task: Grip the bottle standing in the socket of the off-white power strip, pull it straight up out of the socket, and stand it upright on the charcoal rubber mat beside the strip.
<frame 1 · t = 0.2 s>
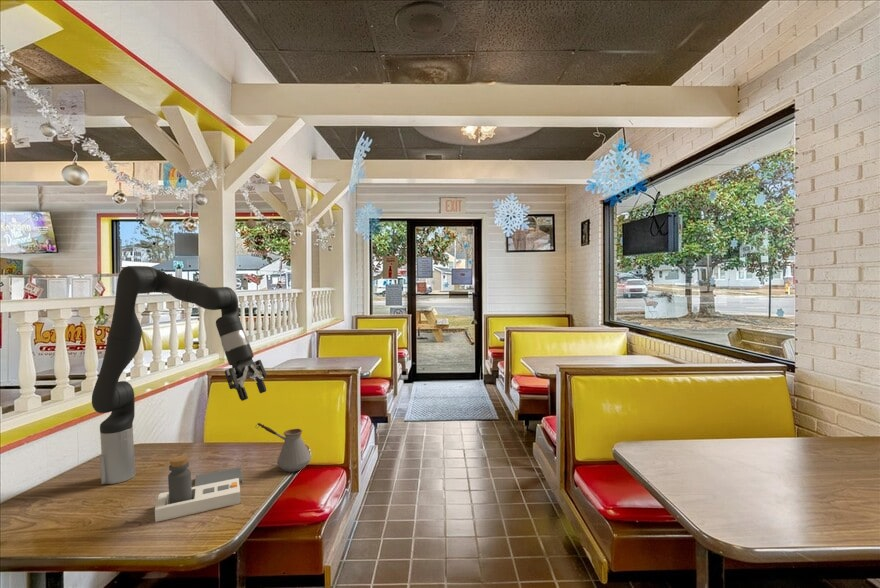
hand: (254, 396, 144), 31 cm above the table, tool tilted 20°, fingers open, 8 cm apart
bottle: (181, 508, 137), resting in power strip
coffee pot: (283, 466, 166), on the table
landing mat: (218, 481, 155), on the table
power strip: (200, 504, 139), on the table
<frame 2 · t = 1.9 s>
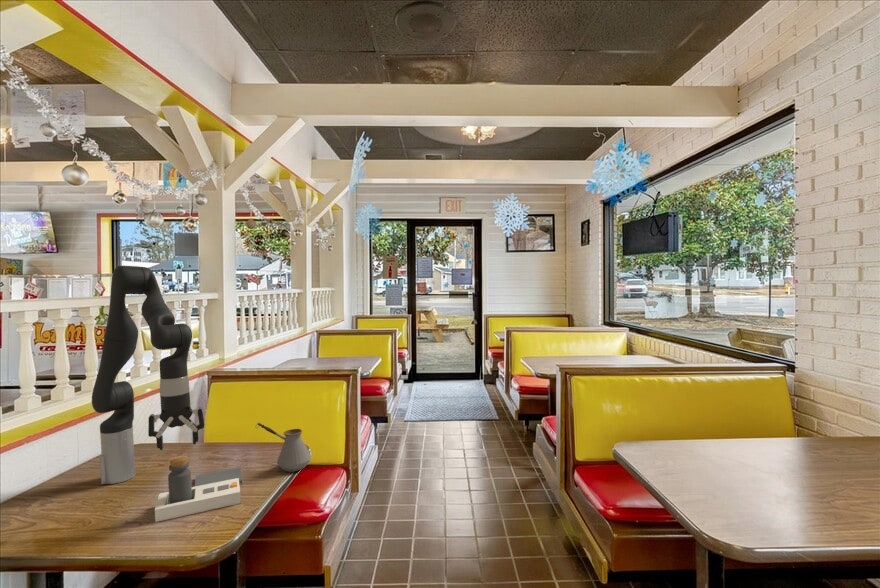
hand: (178, 446, 136), 19 cm above the table, tool pointing down, fingers open, 8 cm apart
nothing on the table moved.
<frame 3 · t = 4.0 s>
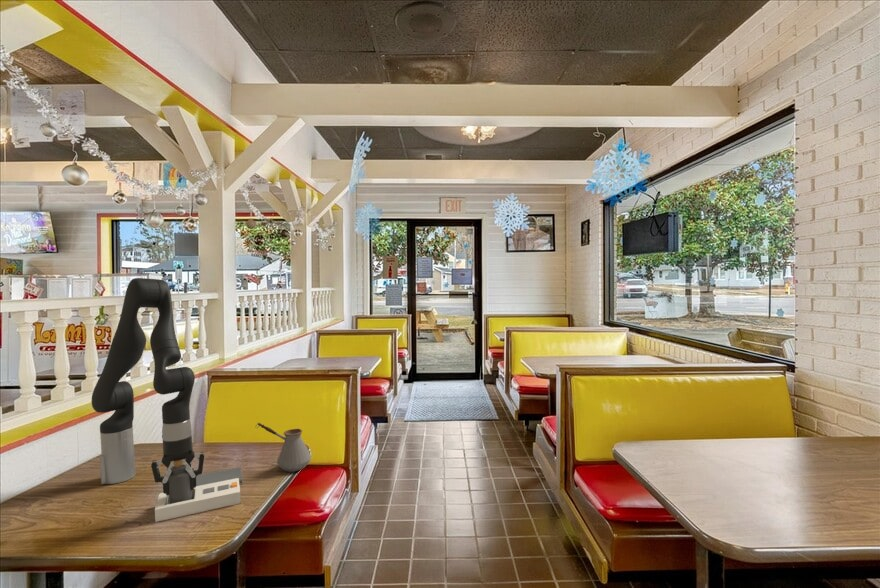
hand: (180, 491, 137), 5 cm above the table, tool pointing down, fingers closed on bottle, 6 cm apart
bottle: (181, 508, 137), resting in power strip, touching gripper
everything else where it was.
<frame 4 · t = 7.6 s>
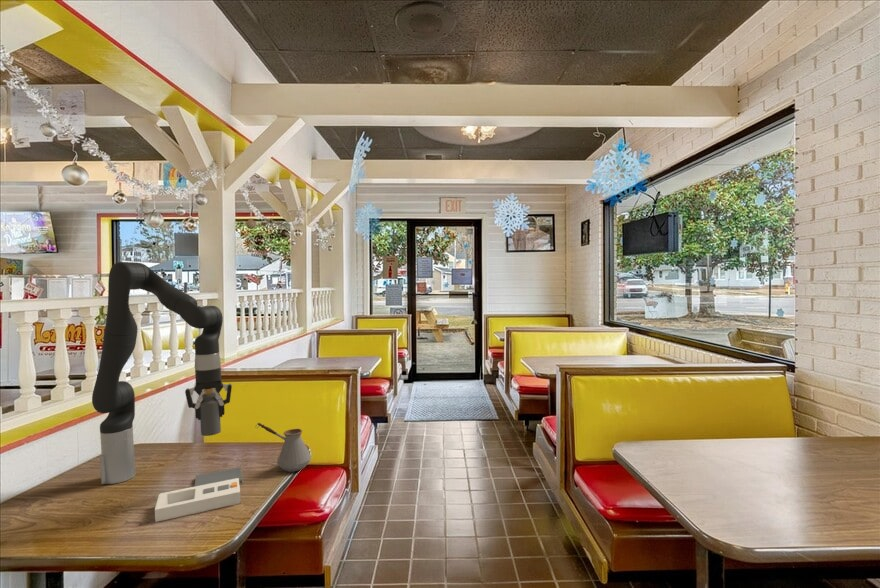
hand: (210, 417, 151), 22 cm above the table, tool pointing down, fingers closed on bottle, 6 cm apart
bottle: (211, 433, 152), point 17 cm above the table, touching gripper
everything else where it was.
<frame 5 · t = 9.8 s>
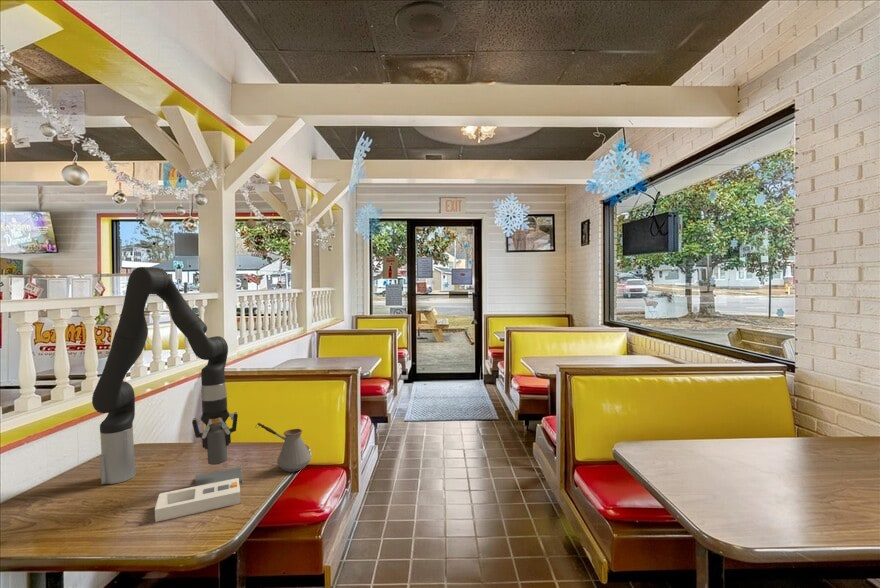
hand: (216, 446, 154), 12 cm above the table, tool pointing down, fingers closed on bottle, 6 cm apart
bottle: (217, 461, 155), point 7 cm above the table, touching gripper
everything else where it was.
when the fingers open (7 cm above the table, at t = 11.6 s): bottle drops 1 cm, resting on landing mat.
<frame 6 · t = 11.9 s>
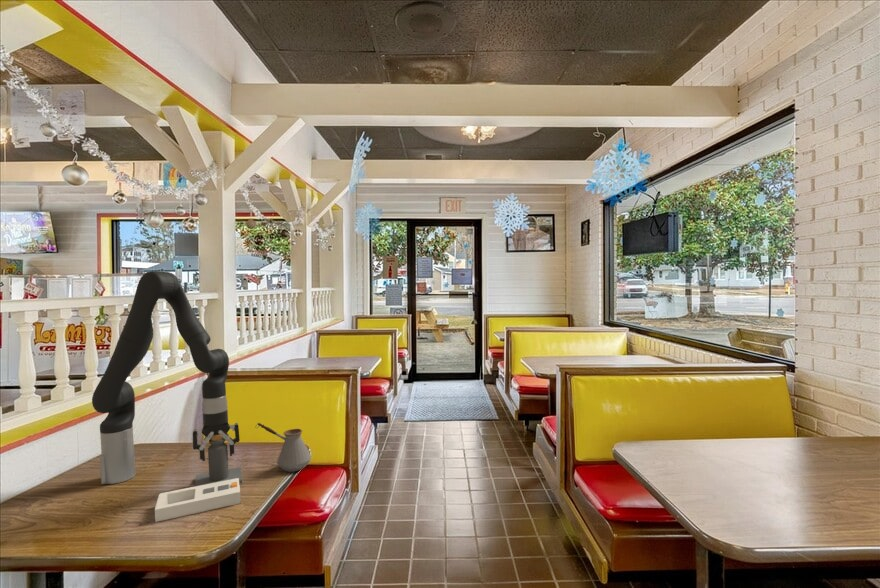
hand: (217, 457, 154), 8 cm above the table, tool pointing down, fingers open, 8 cm apart
bottle: (219, 478, 155), point 1 cm above the table, touching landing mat
everything else where it was.
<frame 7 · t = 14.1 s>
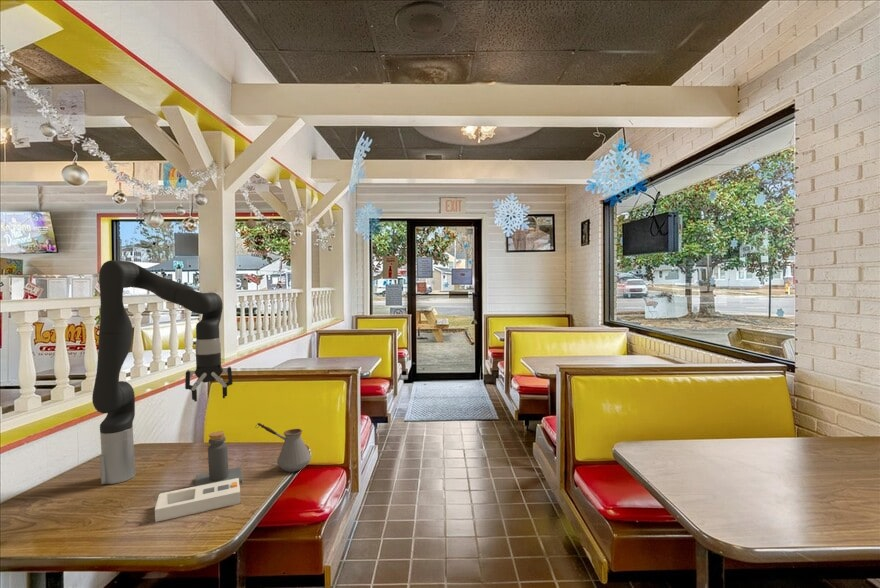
hand: (209, 399, 156), 27 cm above the table, tool pointing down, fingers open, 8 cm apart
nothing on the table moved.
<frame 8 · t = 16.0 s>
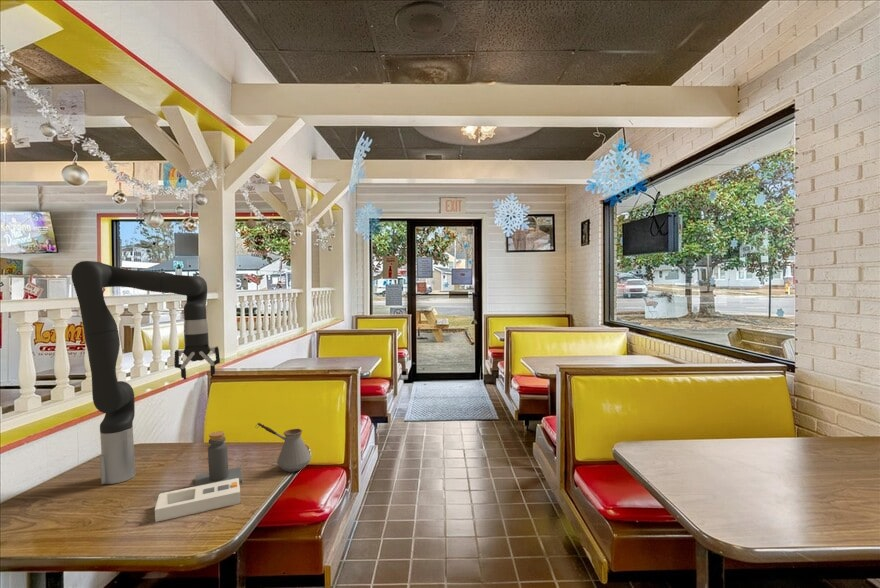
hand: (198, 377, 164), 33 cm above the table, tool pointing down, fingers open, 8 cm apart
nothing on the table moved.
at the end: bottle inside the target area (0.2 cm from its centre), point 1.0 cm above the table; bottle tilted 0°; bottle touching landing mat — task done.
